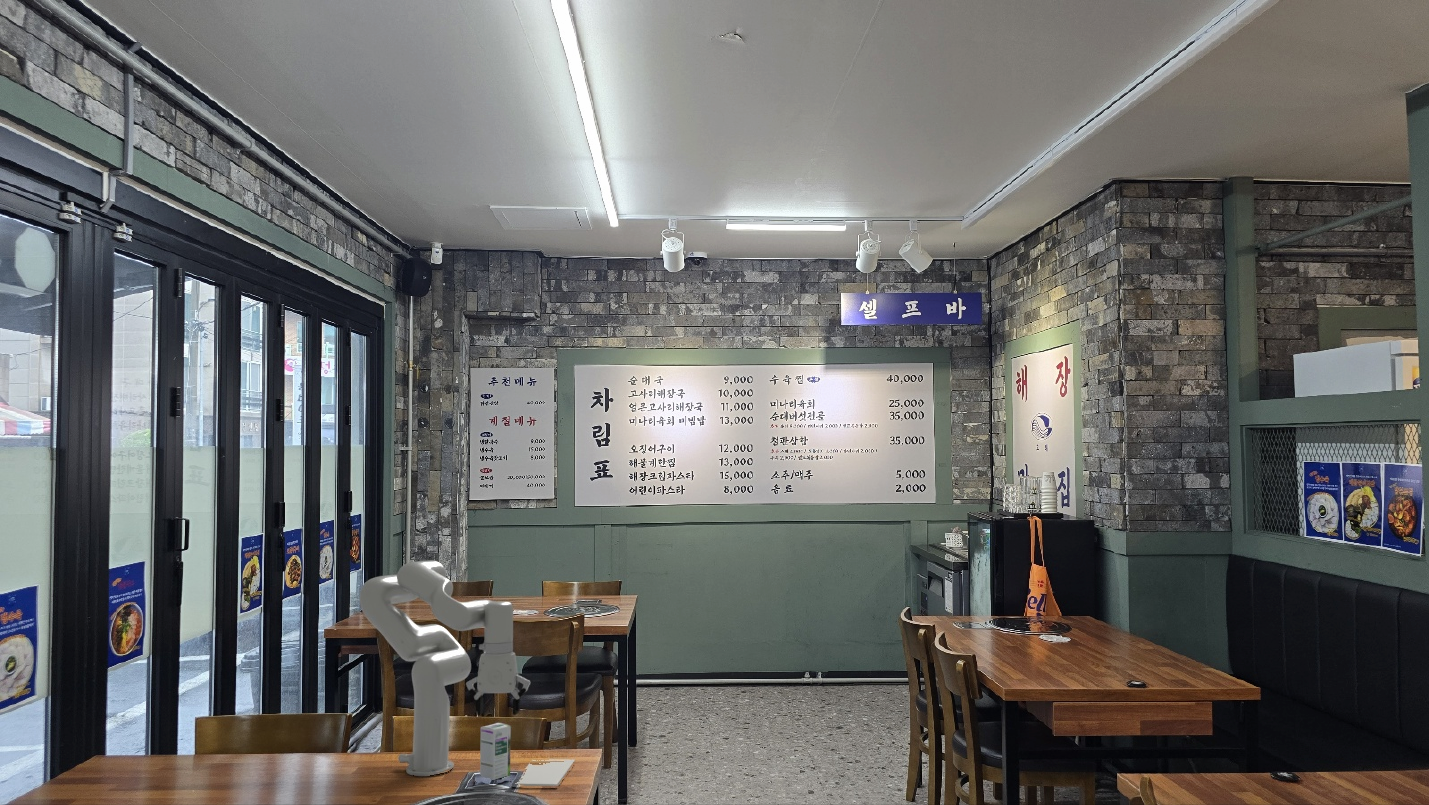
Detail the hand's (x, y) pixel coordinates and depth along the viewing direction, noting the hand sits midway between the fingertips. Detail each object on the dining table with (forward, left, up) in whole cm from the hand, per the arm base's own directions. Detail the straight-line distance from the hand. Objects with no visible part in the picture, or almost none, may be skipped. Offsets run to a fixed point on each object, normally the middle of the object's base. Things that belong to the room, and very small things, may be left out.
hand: (497, 713), depth 237 cm
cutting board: (+12, +6, -18) cm, 22 cm away
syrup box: (-1, 0, -18) cm, 18 cm away
